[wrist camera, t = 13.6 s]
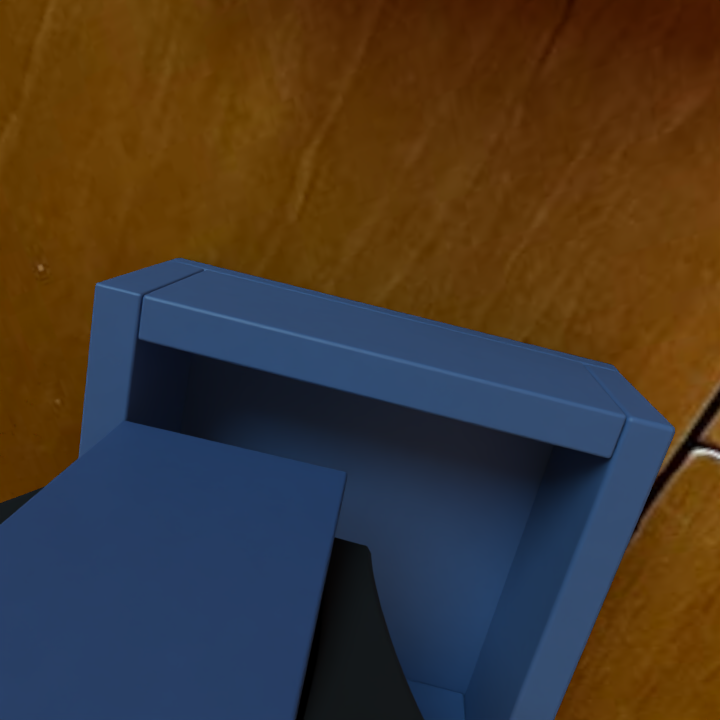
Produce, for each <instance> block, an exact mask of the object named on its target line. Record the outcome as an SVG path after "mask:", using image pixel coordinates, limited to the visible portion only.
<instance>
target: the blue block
mask: <svg viewBox="0 0 720 720" xmlns="http://www.w3.org/2000/svg"><path fill="white" fill-rule="evenodd" d="M347 477H348V476H347V473H346V472H343V471H339V470H334V469H330V468H326V467H322V466H317V465H313V464H309V463H304V462H300V461H296V460H292V459H287V458H283V457H279V456H274V455H270V454H266V453H262V452H257V451H253V450H249V449H245V448H240V447H236V446H232V445H227V444H223V443H219V442H215V441H210V440H206V439H202V438H198V437H193V436H189V435H185V434H180V433H176V432H172V431H168V430H163V429H159V428H155V427H150V426H146V425H142V424H138V423H133V422H129V421H122V422H121V423H120V424H118V425H117V426H116V427H115V428H114V429H112V430H111V431H110V432H109V433H108V434H107V435H105V436H104V437H103V438H102V439H101V440H99V441H98V442H97V443H96V444H95V445H94V446H92V447H91V448H90V449H89V450H88V451H87V452H85V453H84V454H83V455H82V456H81V457H79V458H78V459H77V460H76V461H75V462H74V463H72V464H71V465H70V466H69V467H68V468H66V469H65V470H64V471H63V472H62V473H61V474H59V475H58V476H57V477H56V478H55V479H53V480H52V481H51V482H50V483H49V484H48V485H46V486H45V487H44V488H43V489H42V490H40V491H39V492H38V493H37V494H36V495H35V496H33V497H32V498H31V499H30V500H29V501H28V502H26V503H25V504H24V505H23V506H22V507H20V508H19V509H18V510H17V511H16V512H15V513H13V514H12V515H11V516H10V517H9V518H7V519H6V520H5V521H4V522H3V523H2V524H0V720H296V718H297V714H298V709H299V704H300V699H301V695H302V690H303V685H304V681H305V676H306V671H307V666H308V662H309V657H310V652H311V647H312V643H313V638H314V633H315V628H316V624H317V619H318V614H319V609H320V605H321V600H322V595H323V591H324V586H325V581H326V576H327V572H328V567H329V562H330V557H331V553H332V548H333V543H334V538H335V534H336V529H337V524H338V520H339V515H340V510H341V505H342V501H343V496H344V491H345V486H346V482H347Z"/></svg>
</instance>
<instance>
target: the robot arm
mask: <svg viewBox="0 0 720 720" xmlns="http://www.w3.org/2000/svg"><path fill="white" fill-rule="evenodd" d="M43 488H44V487H42V488H40V489H37V490H35V491H32V492H29V493H27V494H24V495H21V496H19V497H16V498H13V499H10V500H8V501H5V502H2V503H0V524H2V523H3V522H4V521H5V520H6V519H7V518H9V517H10V516H11V515H12V514H13V513H15V512H16V511H17V510H18V509H19V508H20V507H22V506H23V505H24V504H25V503H26V502H28V501H29V500H30V499H31V498H32V497H33V496H35V495H36V494H37V493H38V492H39V491H40V490H42V489H43ZM296 720H424V718H423V716H422V714H421V712H420V710H419V708H418V706H417V703H416V701H415V699H414V697H413V694H412V692H411V690H410V687H409V685H408V683H407V680H406V678H405V675H404V673H403V670H402V667H401V665H400V662H399V660H398V657H397V655H396V652H395V649H394V646H393V643H392V640H391V637H390V634H389V631H388V628H387V624H386V621H385V618H384V615H383V611H382V608H381V604H380V600H379V596H378V592H377V588H376V583H375V578H374V573H373V567H372V557H371V552H370V550H369V548H368V547H367V546H366V545H362V544H358V543H354V542H350V541H347V540H343V539H339V538H334V543H333V548H332V553H331V557H330V562H329V567H328V572H327V576H326V581H325V586H324V591H323V595H322V600H321V605H320V609H319V614H318V619H317V624H316V628H315V633H314V638H313V643H312V647H311V652H310V657H309V662H308V666H307V671H306V676H305V681H304V685H303V690H302V695H301V699H300V704H299V709H298V714H297V718H296Z"/></svg>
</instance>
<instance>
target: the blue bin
mask: <svg viewBox="0 0 720 720" xmlns="http://www.w3.org/2000/svg"><path fill="white" fill-rule="evenodd" d="M122 421H129V422H133V423H138V424H142V425H146V426H150V427H155V428H159V429H163V430H168V431H172V432H176V433H180V434H185V435H189V436H193V437H198V438H202V439H206V440H210V441H215V442H219V443H223V444H227V445H232V446H236V447H240V448H245V449H249V450H253V451H257V452H262V453H266V454H270V455H274V456H279V457H283V458H287V459H292V460H296V461H300V462H304V463H309V464H313V465H317V466H322V467H326V468H330V469H334V470H339V471H343V472H346V473H347V476H348V477H347V482H346V486H345V491H344V496H343V501H342V505H341V510H340V515H339V520H338V524H337V529H336V534H335V538H339V539H343V540H347V541H350V542H354V543H358V544H362V545H366V546H367V547H368V548H369V550H370V552H371V557H372V567H373V573H374V578H375V583H376V588H377V592H378V596H379V600H380V604H381V608H382V611H383V615H384V618H385V621H386V624H387V628H388V631H389V634H390V637H391V640H392V643H393V646H394V649H395V652H396V655H397V657H398V660H399V662H400V665H401V667H402V670H403V673H404V675H405V678H406V680H407V683H408V685H409V687H410V690H411V692H412V694H413V697H414V699H415V701H416V703H417V706H418V708H419V710H420V712H421V714H422V716H423V718H424V720H554V719H555V716H556V714H557V712H558V709H559V707H560V704H561V702H562V700H563V697H564V695H565V693H566V690H567V688H568V685H569V683H570V681H571V678H572V676H573V674H574V671H575V669H576V666H577V664H578V662H579V659H580V657H581V655H582V652H583V650H584V647H585V645H586V643H587V640H588V638H589V636H590V633H591V631H592V628H593V626H594V624H595V621H596V619H597V617H598V614H599V612H600V609H601V607H602V605H603V602H604V600H605V598H606V595H607V593H608V590H609V588H610V586H611V583H612V581H613V579H614V576H615V574H616V571H617V569H618V567H619V564H620V562H621V560H622V557H623V555H624V552H625V550H626V548H627V545H628V543H629V541H630V538H631V536H632V534H633V531H634V529H635V526H636V524H637V522H638V519H639V517H640V515H641V512H642V510H643V507H644V505H645V503H646V500H647V498H648V496H649V493H650V491H651V488H652V486H653V484H654V481H655V479H656V477H657V474H658V472H659V469H660V467H661V465H662V462H663V460H664V458H665V455H666V453H667V450H668V448H669V446H670V443H671V441H672V439H673V436H674V434H675V428H674V427H673V426H672V425H671V424H670V423H669V422H668V421H667V420H666V419H665V418H664V417H663V416H662V415H661V414H660V413H659V412H658V411H657V410H656V409H655V408H654V407H653V406H652V405H651V404H650V403H649V402H648V401H647V400H646V399H645V398H644V397H643V396H642V395H641V394H640V393H639V392H638V391H637V390H636V389H635V388H634V387H633V386H632V385H631V384H630V383H629V382H628V381H627V380H626V379H625V378H624V377H623V376H622V375H621V374H620V373H619V371H618V370H617V369H616V368H615V367H614V366H613V365H611V364H607V363H603V362H599V361H595V360H591V359H587V358H583V357H579V356H575V355H571V354H566V353H562V352H558V351H554V350H550V349H546V348H542V347H538V346H534V345H530V344H526V343H522V342H518V341H514V340H510V339H506V338H502V337H498V336H494V335H490V334H486V333H482V332H478V331H474V330H470V329H466V328H462V327H458V326H454V325H449V324H445V323H441V322H437V321H433V320H429V319H425V318H421V317H417V316H413V315H409V314H405V313H401V312H397V311H393V310H389V309H385V308H381V307H377V306H373V305H369V304H365V303H361V302H357V301H353V300H349V299H345V298H341V297H337V296H333V295H328V294H324V293H320V292H316V291H312V290H308V289H304V288H300V287H296V286H292V285H288V284H284V283H280V282H276V281H272V280H268V279H264V278H260V277H256V276H252V275H248V274H244V273H240V272H236V271H232V270H228V269H224V268H220V267H216V266H212V265H207V264H203V263H199V262H195V261H191V260H187V259H183V258H176V259H173V260H171V261H166V262H163V263H160V264H157V265H153V266H150V267H147V268H144V269H141V270H137V271H134V272H131V273H128V274H125V275H121V276H118V277H115V278H112V279H109V280H105V281H102V282H99V283H97V284H96V286H95V296H94V306H93V316H92V327H91V337H90V347H89V358H88V368H87V378H86V388H85V399H84V409H83V419H82V429H81V440H80V450H79V457H81V456H82V455H83V454H84V453H85V452H87V451H88V450H89V449H90V448H91V447H92V446H94V445H95V444H96V443H97V442H98V441H99V440H101V439H102V438H103V437H104V436H105V435H107V434H108V433H109V432H110V431H111V430H112V429H114V428H115V427H116V426H117V425H118V424H120V423H121V422H122Z"/></svg>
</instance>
